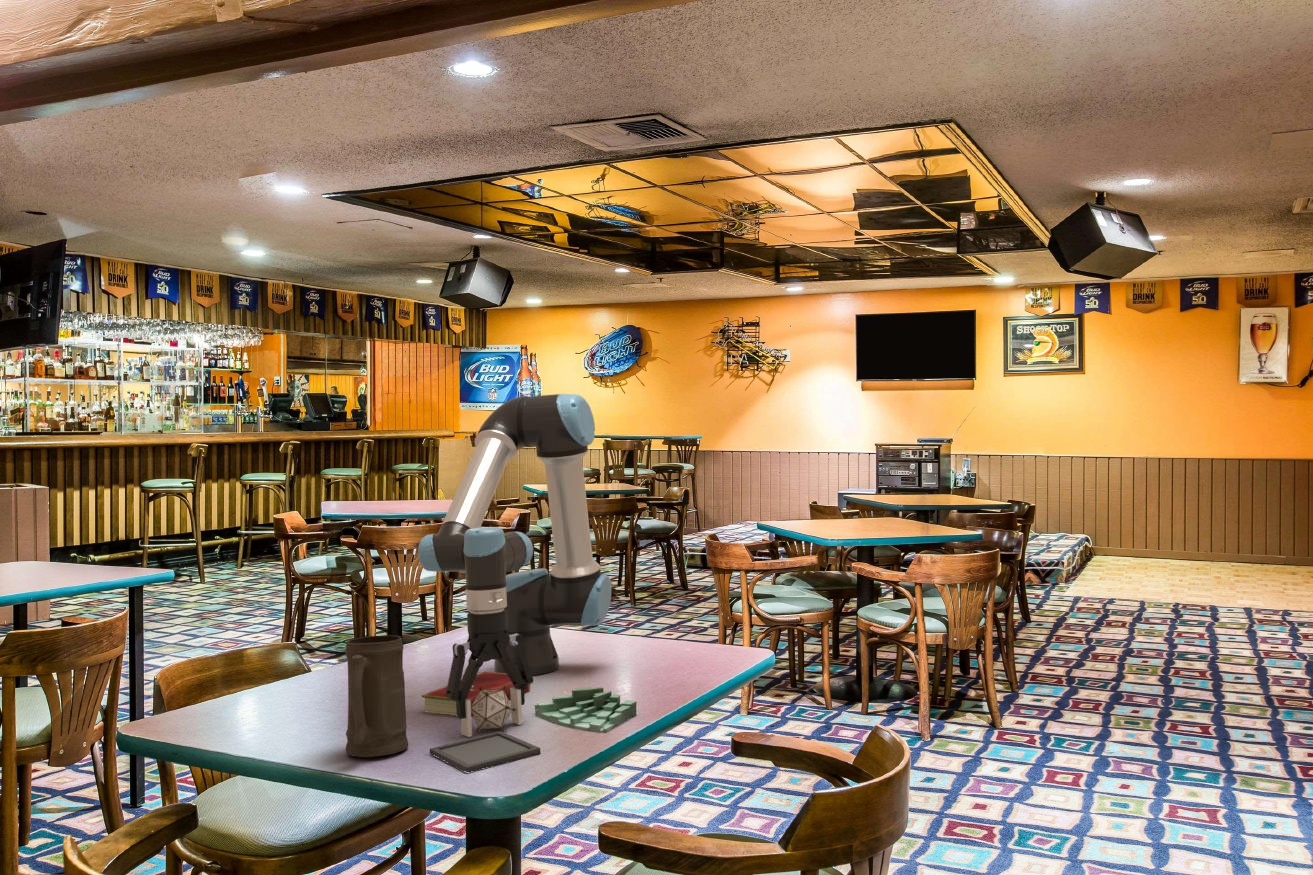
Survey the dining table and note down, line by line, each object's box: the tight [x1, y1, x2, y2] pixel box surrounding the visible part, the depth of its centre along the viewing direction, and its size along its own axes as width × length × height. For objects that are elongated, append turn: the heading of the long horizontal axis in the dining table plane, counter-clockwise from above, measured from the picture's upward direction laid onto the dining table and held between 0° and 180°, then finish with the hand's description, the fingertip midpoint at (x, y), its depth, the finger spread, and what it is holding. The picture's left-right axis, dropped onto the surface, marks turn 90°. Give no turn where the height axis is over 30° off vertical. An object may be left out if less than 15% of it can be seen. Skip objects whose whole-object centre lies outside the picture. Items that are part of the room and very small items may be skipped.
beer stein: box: [344, 634, 409, 758], centre depth 175 cm, size 15×11×20 cm
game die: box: [471, 686, 516, 733], centre depth 187 cm, size 9×8×10 cm
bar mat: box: [429, 730, 541, 773], centre depth 173 cm, size 14×14×1 cm
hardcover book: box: [421, 671, 531, 718], centre depth 208 cm, size 12×21×4 cm, turn 153°
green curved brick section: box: [534, 686, 638, 733], centre depth 194 cm, size 20×16×5 cm
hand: (492, 728), depth 187 cm, fingers open, 10 cm apart
